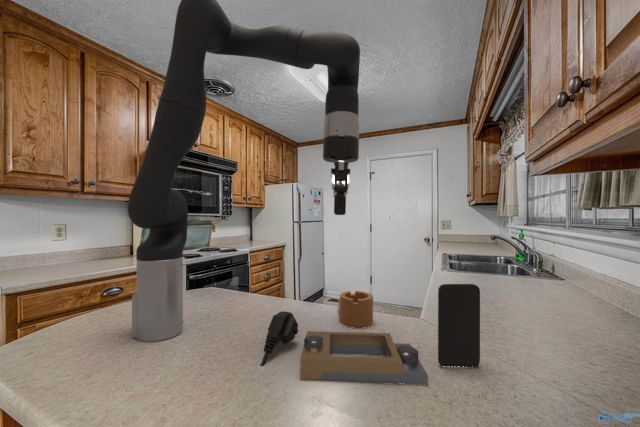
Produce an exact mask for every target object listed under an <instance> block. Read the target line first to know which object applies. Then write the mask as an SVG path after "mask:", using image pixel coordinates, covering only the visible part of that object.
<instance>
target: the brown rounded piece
mask: <svg viewBox="0 0 640 427" xmlns="http://www.w3.org/2000/svg"><path fill="white" fill-rule="evenodd" d="M338 316H339V317H340V318H339V323H340V322H341V323H340V324H341V325H342V324H343V325H342V326H344V325H345V327H346V326H348V327H347V328H350V327H354V328H353V329H364V328H363V327H366V328H369V327H371V326H372V325H373V324H372V323H374V295H373V294H371V293H370V292H365V291H363V290H362V291H360V290H355V292H354V293H351V290H349V291H343V292H341V293H340V295H339V298H338ZM370 325H371V326H370ZM368 326H369V327H368Z"/></svg>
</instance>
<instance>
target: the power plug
mask: <svg viewBox="0 0 640 427" xmlns="http://www.w3.org/2000/svg"><path fill="white" fill-rule="evenodd" d="M298 328H299V324H298V322H297V319H296V318H295V315H294V314H293V313H292V312H289V311H279V312H277V314H273V316H272V318H271V320H270V323H269V326H268V328H267V331H268V332H267V334H266V338H265V342H264V343H265V344H264V347H263V352H264V355H263V357H262V361H261V362H260V365H259V366H260V367H264V366H265V365H266V363H267V360H268V357H269V355H271V354H273V352H274V350H275V348H276V347H277V345H278V344H280V342H281V343H282V344H283V345H284V344H289V343H290V342H292V341H293V340H295V339H296V338H297V336H296V335H298V332H299V329H298Z"/></svg>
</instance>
